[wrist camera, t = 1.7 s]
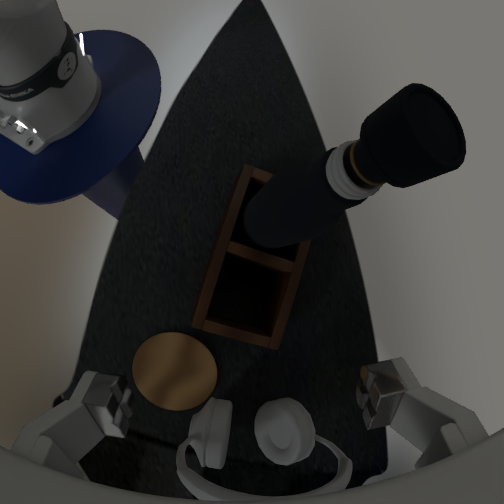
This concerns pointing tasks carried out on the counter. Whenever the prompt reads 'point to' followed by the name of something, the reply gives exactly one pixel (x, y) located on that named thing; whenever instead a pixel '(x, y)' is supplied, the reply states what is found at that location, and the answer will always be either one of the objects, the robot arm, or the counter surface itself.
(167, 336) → the coaster
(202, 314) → the wooden compartment tray
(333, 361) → the counter surface
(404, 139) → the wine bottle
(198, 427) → the headphones
